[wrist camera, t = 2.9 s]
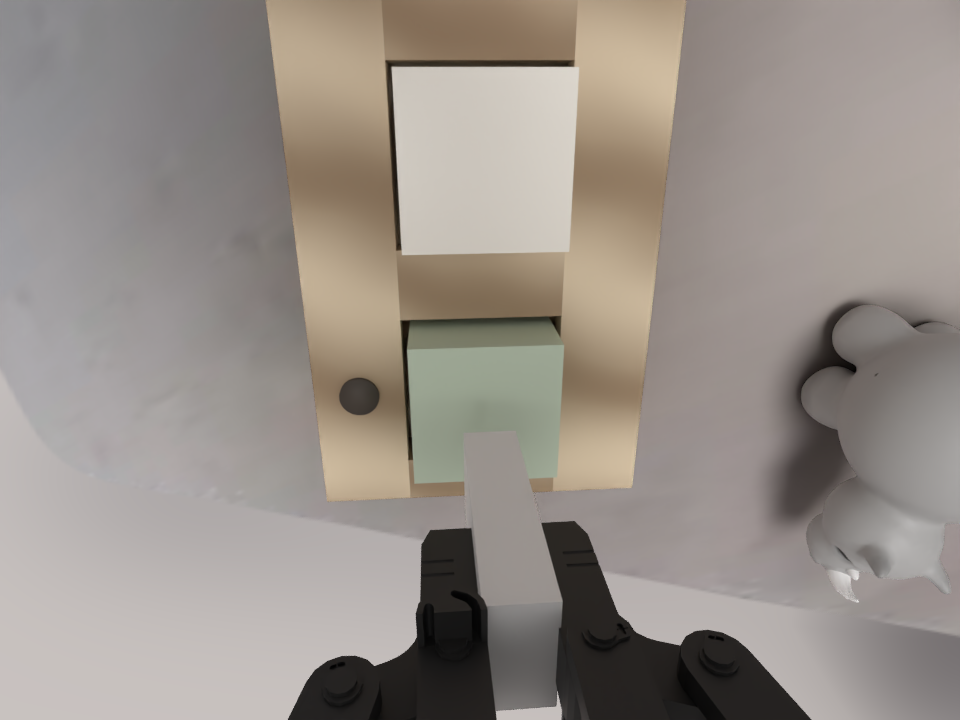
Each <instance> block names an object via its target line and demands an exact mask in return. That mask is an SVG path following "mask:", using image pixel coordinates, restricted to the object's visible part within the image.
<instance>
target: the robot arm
mask: <svg viewBox="0 0 960 720" xmlns="http://www.w3.org/2000/svg"><path fill="white" fill-rule="evenodd" d="M464 492H465V520H466V528H463V529H445V530H430V532H429V533H428V535H427V537H426V538H425V540H424V542H423V543H422V547H421V597H420V603H419V604H418V608H417V612H416V626H417V638H416V640H415V642H414V643H413V644H412V646H411V647H410V648H409V649H408V650H407V651H406V652H405V653H403V654H402V655H400V656H399V657H397V658H394V659H392V660H390V661H388V662H385V663H382V664H379V665H377V666H373V665H372V664H371V663H370V662H369V661H368V660H366V659H363V658H360V657H357V656H341V657H338V658H335V659H332V660H329V661H327V662H326V663H324V664H323V665H321V666H320V667H319V668H317V669H316V670H315V671H314V672H313V674H312V675H311V676H310V678H309V679H308V680H307V682H306V684H305V686H304V688H303V690H302V692H301V694H300V696H299V698H298V700H297V702H296V704H295V706H294V708H293V710H292V712H291V715H290V716H289V718H288V720H496V711H500V710H512V709H513V710H514V709H527V708H540V707H554V706H556V704H557V690H558V695H559V699H560V704H561V707H562V720H811V719H810V718H809V717H808V715H807V714H806V713H805V712H804V711H803V710H802V709H801V708H800V707H799V706H798V704H797V703H796V702H795V701H794V700H793V699H792V698H791V697H790V696H789V694H788V693H787V692H786V691H785V690H784V689H783V688H782V687H781V686H780V685H779V683H778V682H777V681H776V680H775V679H774V678H773V677H772V676H771V674H770V673H769V672H768V671H767V670H766V669H765V668H764V667H763V666H762V664H761V663H760V662H759V661H758V660H757V659H756V658H755V657H754V656H753V654H752V653H751V652H750V651H749V650H748V649H747V648H746V647H745V646H743V645H742V644H741V643H740V642H739V641H737V640H736V639H734V638H732V637H730V636H728V635H726V634H724V633H721V632H716V631H711V630H703V631H695V632H693V633H691V634H689V635H688V636H686V637H685V639H684V640H683V642H682V644H681V646H679V645H674V644H669V643H665V642H660V641H656V640H652V639H649V638H646V637H644V636H642V635H640V634H638V633H636V632H635V631H634V630H633V628H632V627H631V625H630V624H629V622H627V621H626V620H625V619H623V618H622V617H621V616H620V615H619V614H618V612H617V610H616V607H615V605H614V602H613V600H612V597H611V594H610V592H609V589H608V586H607V584H606V581H605V578H604V576H603V573H602V571H601V568H600V566H599V564H598V560H597V557H596V555H595V553H594V549H593V547H592V544H591V542H590V539H589V536H588V534H587V533H586V532H585V531H584V530H583V529H582V528H581V527H580V526H579V525H578V524H577V523H576V522H575V521H569V522H550V523H541V521H540V517H539V514H538V510H537V506H536V503H535V499H534V495H533V492H532V488H531V485H530V481H529V477H528V474H527V470H526V466H525V463H524V459H523V455H522V452H521V448H520V445H519V441H518V437H517V434H516V431H496V432H472V433H464Z"/></svg>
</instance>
